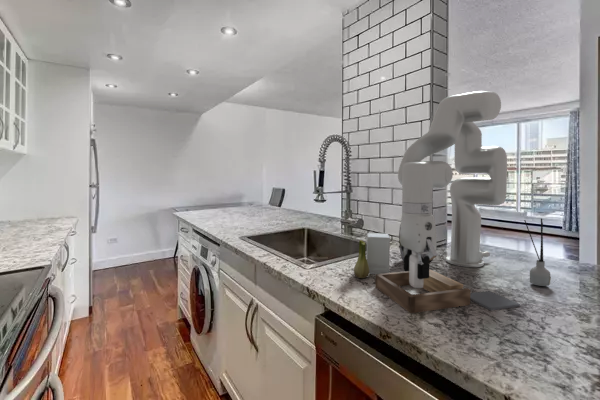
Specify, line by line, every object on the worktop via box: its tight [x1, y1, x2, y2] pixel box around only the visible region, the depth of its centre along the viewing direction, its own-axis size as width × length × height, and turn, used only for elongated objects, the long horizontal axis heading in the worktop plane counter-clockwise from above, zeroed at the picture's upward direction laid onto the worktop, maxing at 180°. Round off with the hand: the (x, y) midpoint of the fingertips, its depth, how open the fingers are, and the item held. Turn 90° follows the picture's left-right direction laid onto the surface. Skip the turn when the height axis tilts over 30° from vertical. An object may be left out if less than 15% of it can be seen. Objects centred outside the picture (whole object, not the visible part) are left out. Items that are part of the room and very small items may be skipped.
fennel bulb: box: [353, 240, 370, 279], centre depth 97 cm, size 6×5×12 cm
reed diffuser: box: [523, 218, 552, 287], centre depth 89 cm, size 10×7×20 cm
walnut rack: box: [374, 270, 472, 314], centre depth 82 cm, size 17×17×4 cm
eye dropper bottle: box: [409, 251, 424, 289], centre depth 81 cm, size 4×6×12 cm
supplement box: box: [366, 232, 391, 275], centre depth 103 cm, size 7×7×13 cm
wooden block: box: [422, 269, 464, 293], centre depth 84 cm, size 4×13×4 cm, turn 14°
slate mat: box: [470, 290, 521, 311], centre depth 78 cm, size 9×9×1 cm
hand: (415, 273), depth 82 cm, fingers closed on eye dropper bottle, 5 cm apart
